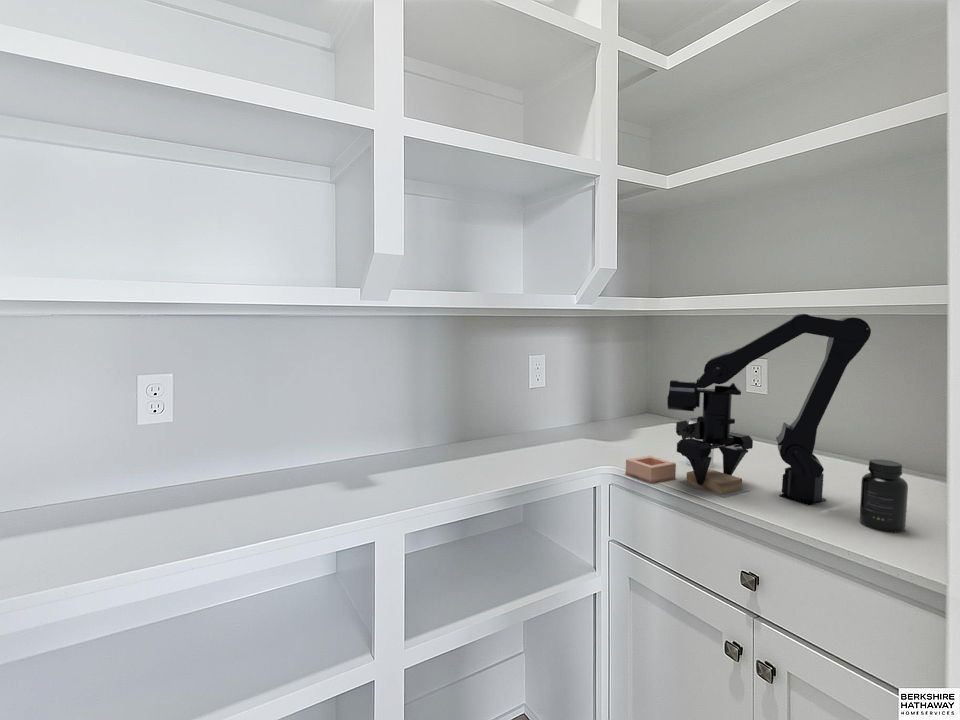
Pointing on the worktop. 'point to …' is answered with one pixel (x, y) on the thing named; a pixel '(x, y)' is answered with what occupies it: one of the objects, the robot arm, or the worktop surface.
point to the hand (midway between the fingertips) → (713, 481)
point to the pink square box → (650, 469)
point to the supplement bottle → (884, 497)
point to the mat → (716, 493)
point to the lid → (716, 482)
